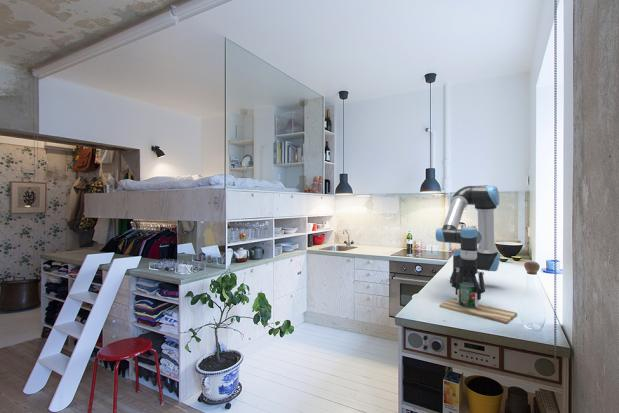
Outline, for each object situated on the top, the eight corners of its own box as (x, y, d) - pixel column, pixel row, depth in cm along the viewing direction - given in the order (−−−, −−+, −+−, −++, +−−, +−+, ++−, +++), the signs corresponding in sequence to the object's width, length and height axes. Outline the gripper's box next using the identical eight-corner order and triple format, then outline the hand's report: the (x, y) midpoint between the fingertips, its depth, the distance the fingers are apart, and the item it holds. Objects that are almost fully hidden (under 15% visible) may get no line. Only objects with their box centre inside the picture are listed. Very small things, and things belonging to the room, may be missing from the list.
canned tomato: (477, 309, 154) (477, 286, 153) (459, 307, 157) (459, 285, 156) (475, 304, 161) (475, 283, 161) (458, 302, 164) (458, 281, 164)
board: (452, 300, 172) (452, 298, 172) (516, 315, 150) (517, 312, 150) (439, 306, 161) (439, 304, 161) (506, 323, 139) (506, 321, 139)
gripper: (444, 256, 163) (444, 300, 164) (488, 262, 148) (487, 310, 149) (451, 254, 169) (450, 297, 169) (493, 260, 153) (493, 307, 154)
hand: (467, 303), depth 159 cm, fingers closed on canned tomato, 8 cm apart
